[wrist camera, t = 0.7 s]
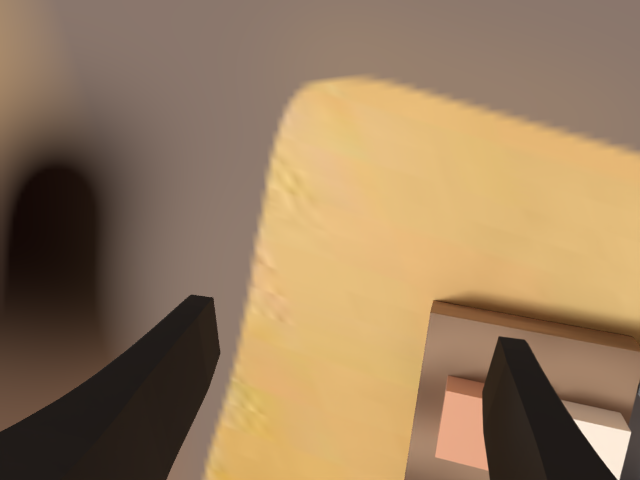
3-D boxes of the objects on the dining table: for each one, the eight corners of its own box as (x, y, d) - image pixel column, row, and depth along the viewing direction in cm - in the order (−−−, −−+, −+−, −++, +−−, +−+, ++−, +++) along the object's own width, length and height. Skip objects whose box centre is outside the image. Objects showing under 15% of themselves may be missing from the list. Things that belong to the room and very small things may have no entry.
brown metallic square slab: (591, 507, 32) (600, 537, 29) (408, 460, 34) (403, 483, 32) (632, 336, 29) (646, 353, 27) (433, 300, 32) (430, 312, 30)
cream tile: (604, 479, 29) (613, 502, 27) (527, 460, 30) (530, 481, 28) (620, 412, 28) (631, 432, 26) (540, 395, 29) (545, 413, 27)
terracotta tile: (508, 455, 30) (510, 476, 28) (437, 438, 31) (435, 457, 29) (521, 391, 29) (524, 408, 27) (447, 375, 30) (446, 390, 28)
